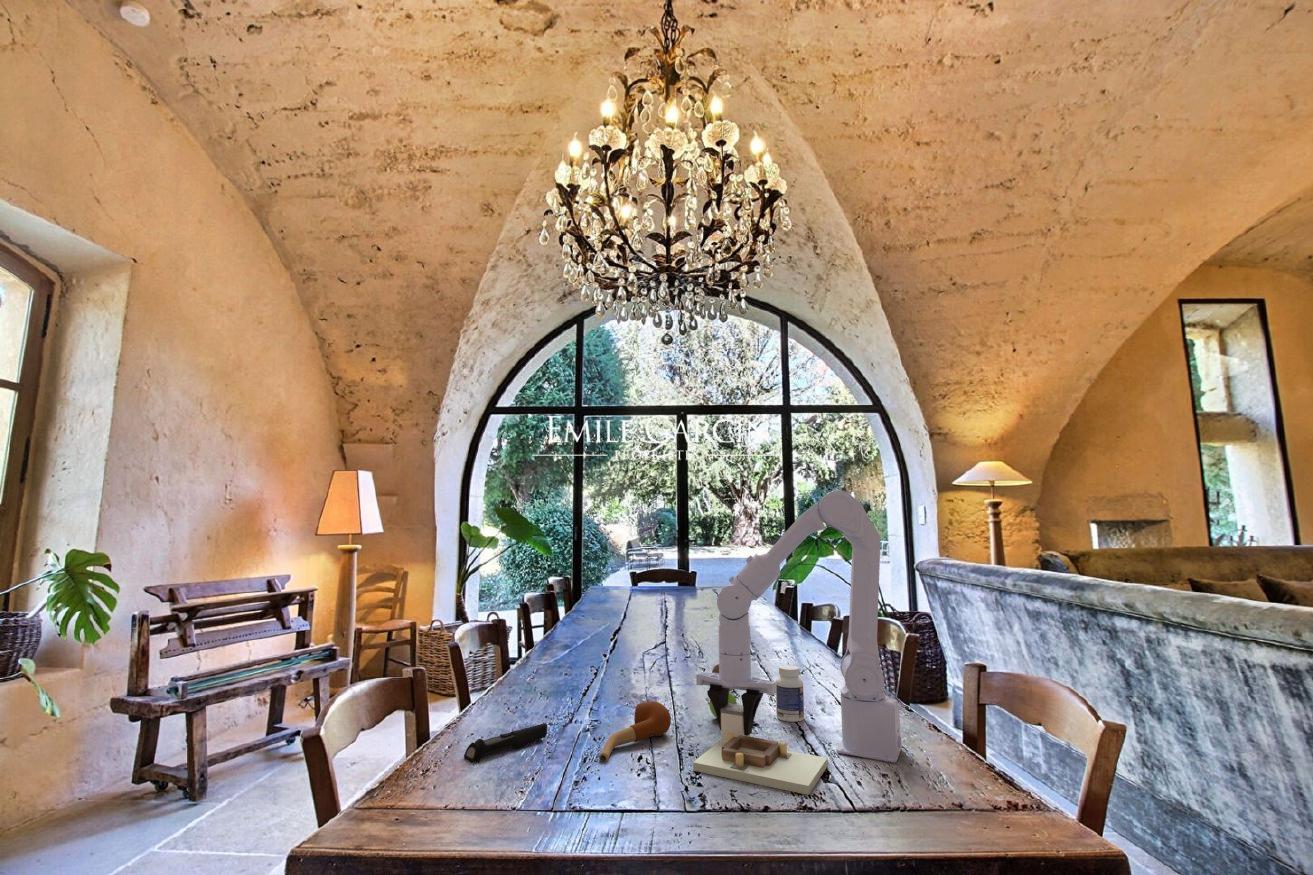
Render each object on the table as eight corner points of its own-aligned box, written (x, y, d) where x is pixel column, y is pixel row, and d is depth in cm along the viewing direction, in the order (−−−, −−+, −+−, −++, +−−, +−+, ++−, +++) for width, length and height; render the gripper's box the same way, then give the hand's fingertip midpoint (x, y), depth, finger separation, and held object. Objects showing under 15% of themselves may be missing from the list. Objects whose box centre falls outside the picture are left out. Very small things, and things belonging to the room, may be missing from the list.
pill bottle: (807, 723, 117) (805, 670, 119) (779, 722, 117) (777, 670, 119) (801, 714, 123) (799, 664, 124) (774, 714, 123) (773, 664, 124)
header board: (827, 766, 96) (827, 745, 96) (808, 795, 86) (807, 772, 86) (722, 746, 104) (722, 727, 105) (693, 770, 94) (693, 750, 94)
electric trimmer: (551, 743, 107) (552, 724, 107) (473, 765, 96) (474, 745, 97) (539, 738, 109) (540, 720, 110) (462, 759, 99) (463, 739, 99)
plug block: (750, 738, 108) (750, 706, 109) (742, 746, 105) (742, 712, 106) (729, 735, 110) (729, 703, 111) (720, 742, 107) (720, 709, 107)
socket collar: (782, 752, 99) (782, 742, 99) (767, 769, 92) (766, 758, 92) (736, 743, 102) (736, 734, 102) (718, 759, 95) (718, 749, 96)
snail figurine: (732, 726, 115) (731, 660, 117) (704, 719, 119) (703, 656, 121) (746, 719, 119) (745, 656, 121) (718, 713, 123) (718, 652, 125)
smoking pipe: (677, 733, 112) (677, 700, 112) (629, 769, 95) (630, 730, 96) (642, 728, 115) (642, 695, 115) (591, 761, 98) (591, 723, 99)
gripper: (689, 652, 110) (689, 731, 108) (766, 660, 103) (768, 745, 101) (704, 645, 116) (705, 720, 114) (778, 653, 109) (780, 733, 107)
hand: (735, 731), depth 108 cm, fingers closed on plug block, 4 cm apart
